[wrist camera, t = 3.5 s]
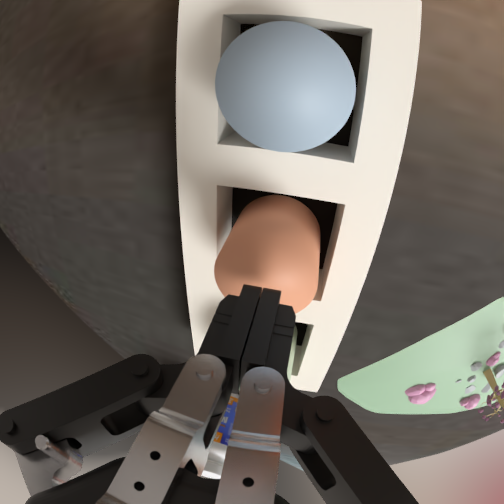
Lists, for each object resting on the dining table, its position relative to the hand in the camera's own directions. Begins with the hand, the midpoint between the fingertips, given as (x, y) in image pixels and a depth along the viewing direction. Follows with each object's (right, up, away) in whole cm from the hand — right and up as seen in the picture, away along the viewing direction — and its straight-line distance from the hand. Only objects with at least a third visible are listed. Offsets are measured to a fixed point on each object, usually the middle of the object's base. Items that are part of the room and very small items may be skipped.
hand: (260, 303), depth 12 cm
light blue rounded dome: (+2, +10, 0) cm, 10 cm away
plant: (+20, -10, +11) cm, 25 cm away
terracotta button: (+1, +3, +4) cm, 5 cm away
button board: (+1, +4, +6) cm, 7 cm away
